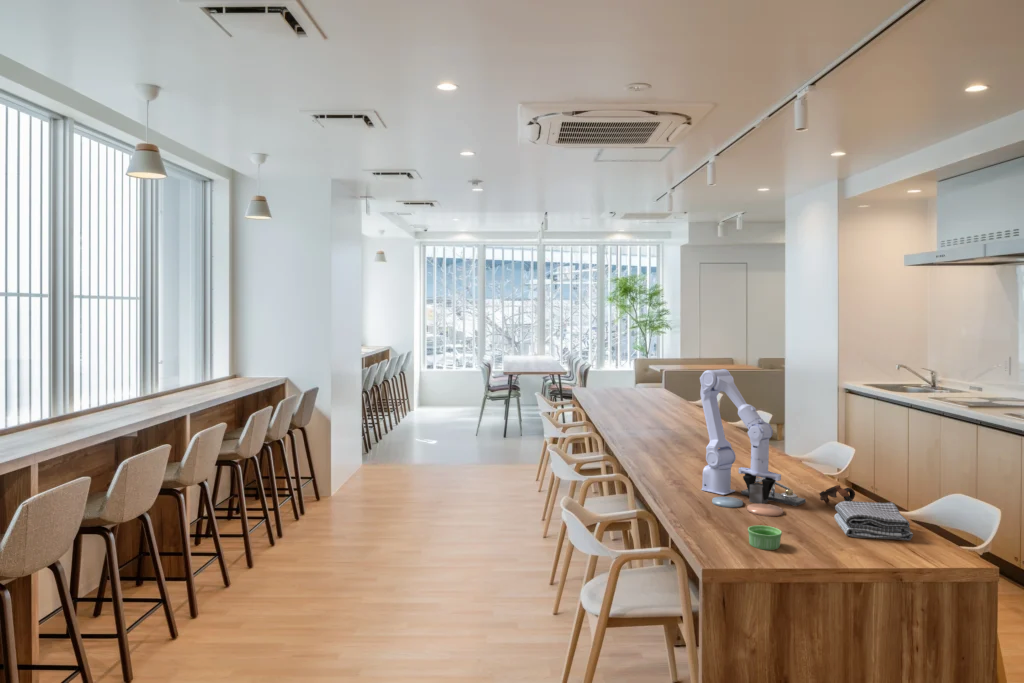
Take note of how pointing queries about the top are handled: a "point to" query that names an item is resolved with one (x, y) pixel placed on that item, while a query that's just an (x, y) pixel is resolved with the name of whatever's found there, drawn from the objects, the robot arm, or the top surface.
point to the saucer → (727, 502)
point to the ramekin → (764, 537)
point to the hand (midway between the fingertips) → (758, 497)
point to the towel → (872, 520)
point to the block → (756, 493)
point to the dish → (765, 509)
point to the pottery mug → (842, 492)
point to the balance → (781, 498)
